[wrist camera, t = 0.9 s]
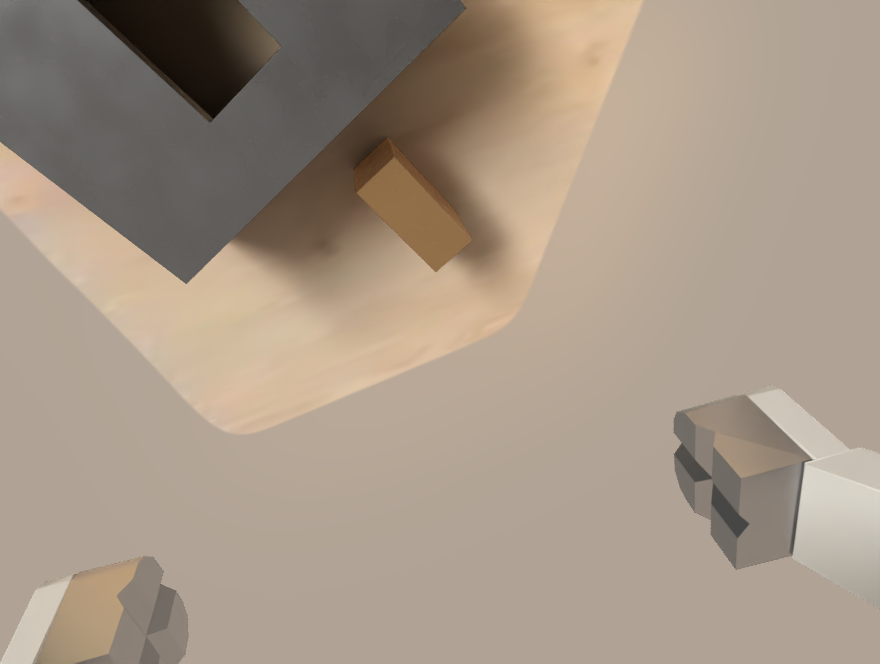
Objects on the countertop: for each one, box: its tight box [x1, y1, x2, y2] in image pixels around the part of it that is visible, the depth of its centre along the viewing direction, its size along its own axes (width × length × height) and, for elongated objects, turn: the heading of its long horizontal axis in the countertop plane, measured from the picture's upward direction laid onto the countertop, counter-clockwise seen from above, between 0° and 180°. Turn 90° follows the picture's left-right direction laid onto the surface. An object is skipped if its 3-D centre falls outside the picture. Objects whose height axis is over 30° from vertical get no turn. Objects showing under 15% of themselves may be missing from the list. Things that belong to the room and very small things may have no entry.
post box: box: [0, 0, 466, 284], centre depth 31 cm, size 20×18×8 cm
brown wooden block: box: [353, 137, 472, 272], centre depth 39 cm, size 3×7×5 cm, turn 41°
